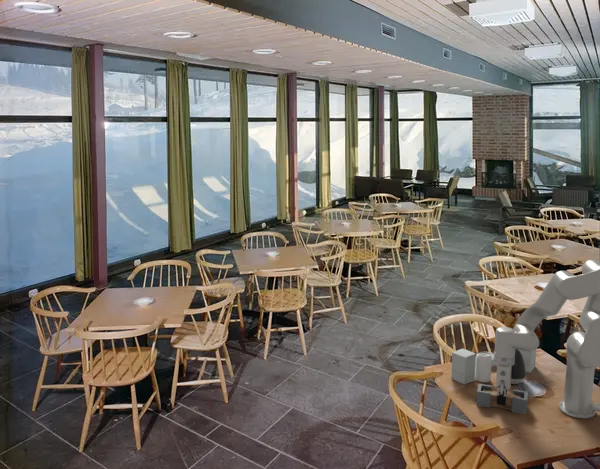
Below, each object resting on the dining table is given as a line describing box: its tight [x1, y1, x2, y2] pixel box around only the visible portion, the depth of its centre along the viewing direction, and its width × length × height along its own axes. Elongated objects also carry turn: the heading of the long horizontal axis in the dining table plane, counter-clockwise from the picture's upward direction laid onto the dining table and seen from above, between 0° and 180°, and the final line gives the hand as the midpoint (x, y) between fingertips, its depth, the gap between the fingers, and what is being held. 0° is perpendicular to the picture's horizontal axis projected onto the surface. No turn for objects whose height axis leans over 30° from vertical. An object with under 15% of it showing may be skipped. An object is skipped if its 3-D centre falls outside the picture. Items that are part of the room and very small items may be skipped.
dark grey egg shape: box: [511, 349, 527, 385], centre depth 227 cm, size 10×10×15 cm
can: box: [475, 351, 492, 384], centre depth 230 cm, size 6×6×12 cm
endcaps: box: [475, 383, 528, 415], centre depth 209 cm, size 18×7×6 cm, turn 66°
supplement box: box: [450, 348, 477, 385], centre depth 230 cm, size 7×7×13 cm
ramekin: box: [487, 351, 496, 368], centre depth 246 cm, size 9×9×4 cm
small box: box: [518, 349, 537, 374], centre depth 240 cm, size 8×6×13 cm
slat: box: [483, 389, 521, 411], centre depth 209 cm, size 14×4×5 cm, turn 66°
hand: (501, 398), depth 209 cm, fingers open, 9 cm apart
